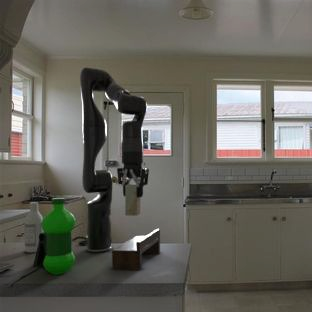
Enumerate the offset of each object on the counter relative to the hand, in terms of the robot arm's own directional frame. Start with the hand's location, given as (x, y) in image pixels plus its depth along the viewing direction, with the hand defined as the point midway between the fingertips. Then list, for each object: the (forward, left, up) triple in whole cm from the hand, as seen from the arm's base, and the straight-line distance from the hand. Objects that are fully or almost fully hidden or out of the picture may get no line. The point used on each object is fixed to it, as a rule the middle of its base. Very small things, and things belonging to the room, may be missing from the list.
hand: (132, 196), depth 133 cm
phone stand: (-22, -21, -25) cm, 39 cm away
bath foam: (-47, -17, -25) cm, 56 cm away
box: (0, 0, -7) cm, 7 cm away
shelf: (-2, +3, -24) cm, 25 cm away
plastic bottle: (-11, -22, -25) cm, 35 cm away
